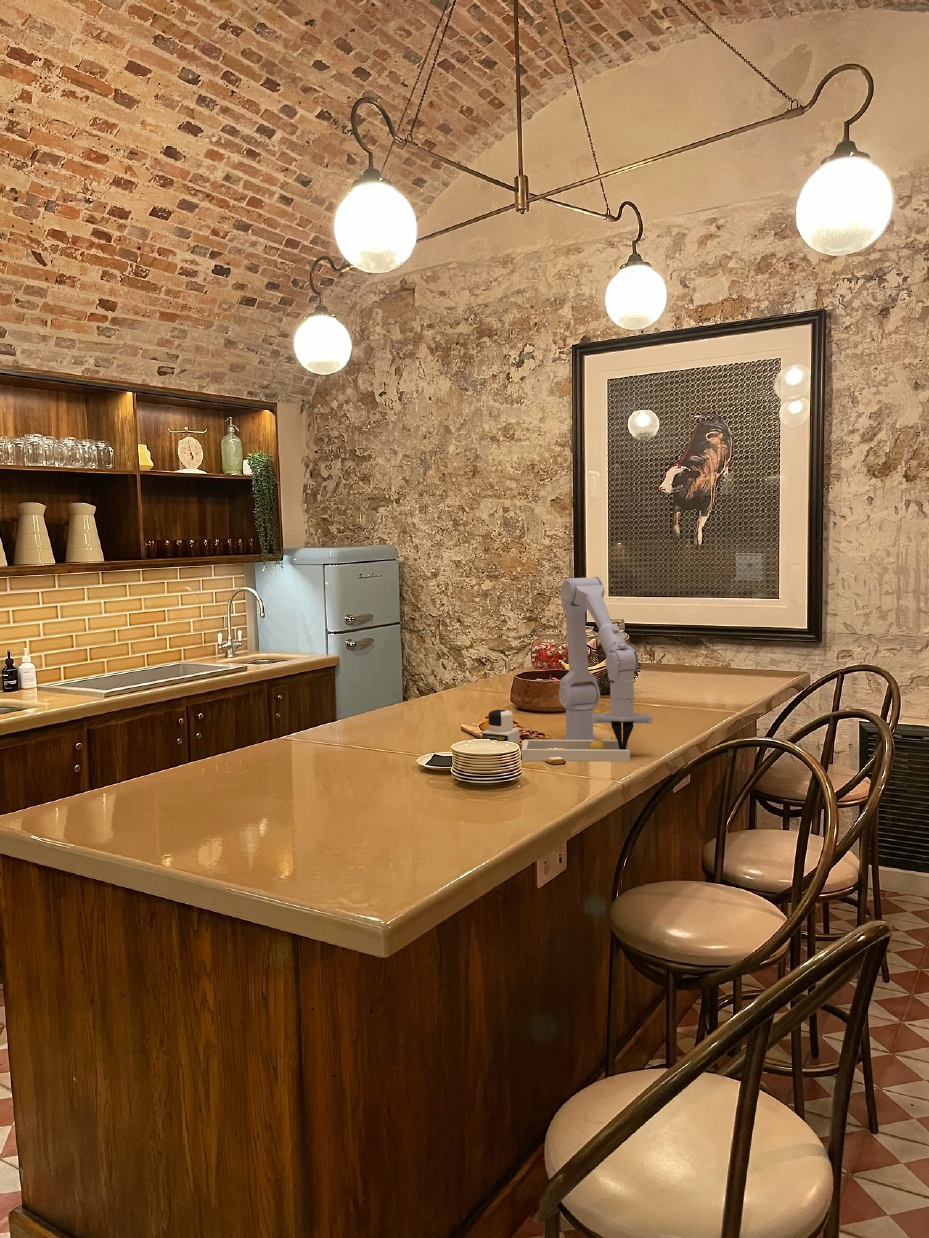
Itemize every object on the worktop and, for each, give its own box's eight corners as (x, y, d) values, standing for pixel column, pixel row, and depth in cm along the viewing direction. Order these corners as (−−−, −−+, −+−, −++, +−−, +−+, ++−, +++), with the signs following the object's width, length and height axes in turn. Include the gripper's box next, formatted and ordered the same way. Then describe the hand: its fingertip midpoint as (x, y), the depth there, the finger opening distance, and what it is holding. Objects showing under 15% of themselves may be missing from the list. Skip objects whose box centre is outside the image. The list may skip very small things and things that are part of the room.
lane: (524, 750, 245) (524, 739, 244) (627, 751, 241) (627, 740, 241) (521, 762, 233) (521, 750, 233) (630, 763, 230) (630, 750, 229)
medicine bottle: (482, 759, 236) (481, 712, 235) (494, 753, 242) (493, 707, 241) (508, 762, 233) (507, 714, 232) (520, 756, 239) (519, 709, 238)
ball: (589, 753, 239) (589, 737, 238) (605, 753, 238) (605, 737, 238) (589, 757, 235) (589, 741, 234) (606, 757, 234) (606, 741, 234)
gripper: (592, 700, 231) (593, 755, 232) (653, 700, 230) (653, 755, 231) (592, 695, 238) (592, 748, 239) (650, 695, 236) (651, 749, 238)
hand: (622, 751), depth 236 cm, fingers closed
